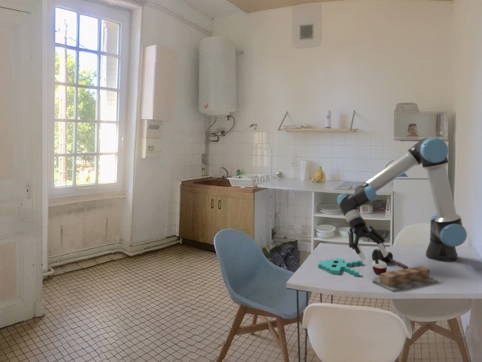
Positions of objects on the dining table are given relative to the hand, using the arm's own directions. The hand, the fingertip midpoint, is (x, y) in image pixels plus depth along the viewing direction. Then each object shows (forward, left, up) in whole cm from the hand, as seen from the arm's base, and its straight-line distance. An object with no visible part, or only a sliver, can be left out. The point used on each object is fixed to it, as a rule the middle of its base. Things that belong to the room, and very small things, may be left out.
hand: (375, 257), depth 190 cm
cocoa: (-1, +2, -8) cm, 8 cm away
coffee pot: (-15, -6, -8) cm, 18 cm away
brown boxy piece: (-3, +16, -7) cm, 18 cm away
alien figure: (+11, -13, -8) cm, 19 cm away
